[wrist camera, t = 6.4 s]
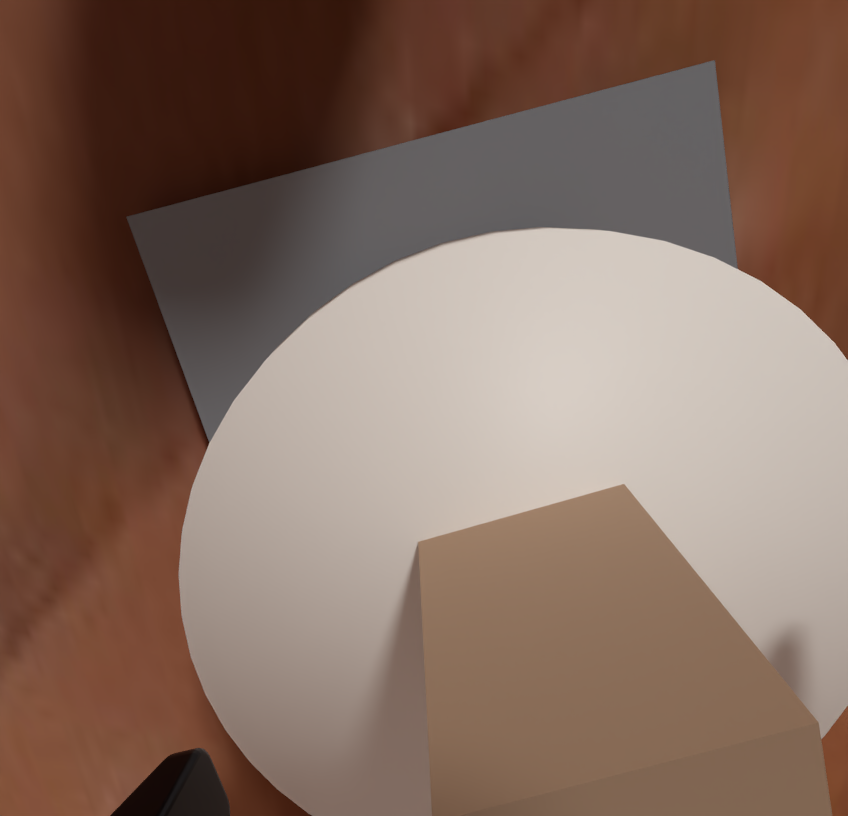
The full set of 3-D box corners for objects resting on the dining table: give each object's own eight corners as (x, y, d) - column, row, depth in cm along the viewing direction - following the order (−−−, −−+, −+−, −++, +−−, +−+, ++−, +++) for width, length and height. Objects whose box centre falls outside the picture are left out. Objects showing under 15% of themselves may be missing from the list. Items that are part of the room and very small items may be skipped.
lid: (818, 128, 9) (1421, 9, 4) (885, 737, 12) (1270, 1155, 7) (86, 352, 9) (-310, 527, 4) (326, 881, 12) (271, 1372, 7)
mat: (701, 66, 13) (714, 60, 13) (766, 638, 17) (779, 652, 17) (137, 216, 14) (126, 216, 13) (327, 740, 18) (325, 757, 17)
